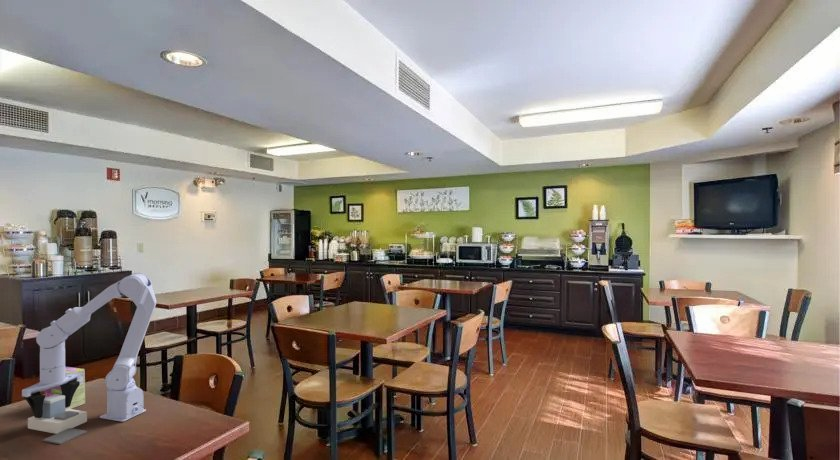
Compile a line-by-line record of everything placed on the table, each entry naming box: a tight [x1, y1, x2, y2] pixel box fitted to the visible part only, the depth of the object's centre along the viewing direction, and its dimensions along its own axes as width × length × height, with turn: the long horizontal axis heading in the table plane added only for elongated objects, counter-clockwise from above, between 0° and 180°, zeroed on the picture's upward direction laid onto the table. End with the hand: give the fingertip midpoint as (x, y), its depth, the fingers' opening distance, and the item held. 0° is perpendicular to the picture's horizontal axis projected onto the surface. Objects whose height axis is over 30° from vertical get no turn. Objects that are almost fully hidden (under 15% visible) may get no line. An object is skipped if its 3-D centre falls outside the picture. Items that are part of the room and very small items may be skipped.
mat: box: [42, 427, 88, 445], centre depth 119 cm, size 6×7×1 cm
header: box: [27, 408, 88, 435], centre depth 125 cm, size 12×8×4 cm, turn 75°
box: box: [44, 366, 86, 409], centre depth 139 cm, size 10×6×12 cm, turn 73°
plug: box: [42, 394, 65, 419], centre depth 126 cm, size 4×4×8 cm
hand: (52, 411), depth 126 cm, fingers open, 7 cm apart
